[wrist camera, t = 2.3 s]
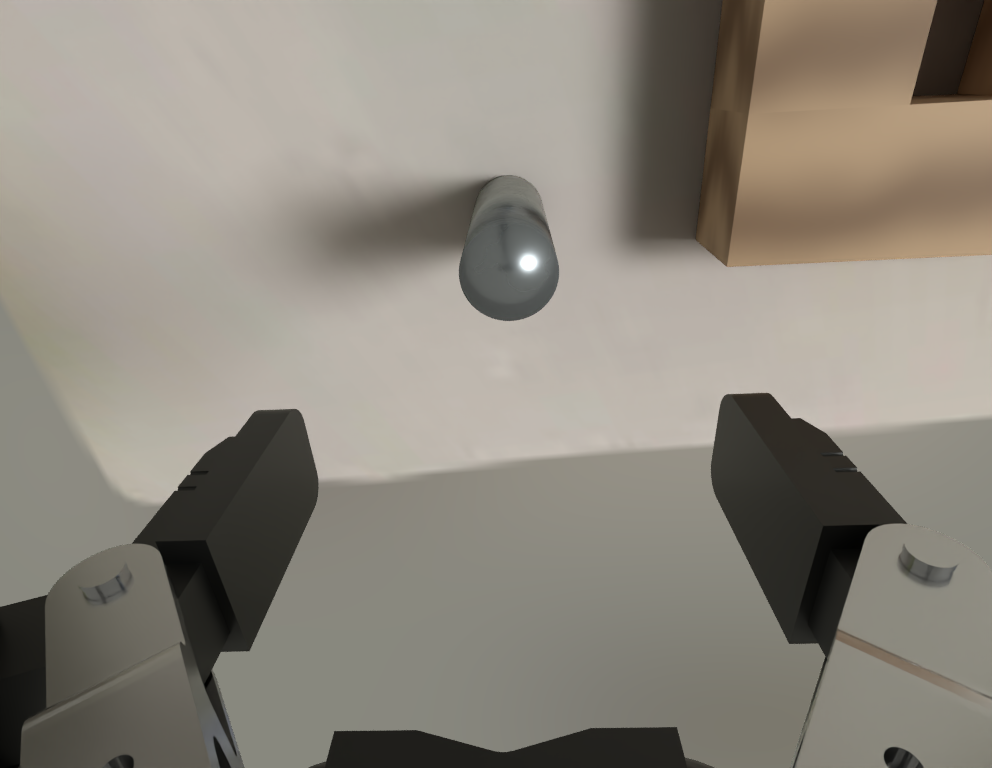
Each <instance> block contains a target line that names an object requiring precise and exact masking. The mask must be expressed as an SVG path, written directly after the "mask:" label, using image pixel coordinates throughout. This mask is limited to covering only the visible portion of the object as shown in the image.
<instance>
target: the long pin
mask: <svg viewBox="0 0 992 768" xmlns="http://www.w3.org/2000/svg"><path fill="white" fill-rule="evenodd" d="M459 279H460V284H461V288H462V290H463V292H464V295H465V296H466V298H467V300H468V301H469V302H470V303H471V305H472V306H473V307H475V308H476V309H477V310H478V311H479V312H481V313H483V314H484V315H486V316H488V317H491V318H494V319H497V320H503V321H514V320H520V319H524V318H527V317H529V316H531V315H533V314H535V313H537V312H538V311H540V310H541V309H542V308H543V307H544V306H545V305H546V304H547V303H548V302H549V300H550V299H551V297H552V296H553V294H554V292H555V290H556V287H557V283H558V279H559V265H558V261H557V256H556V253H555V249H554V245H553V241H552V238H551V234H550V230H549V226H548V223H547V219H546V215H545V211H544V208H543V204H542V200H541V197H540V195H539V193H538V191H537V190H536V188H535V187H534V186H533V185H532V184H531V183H530V182H528V181H527V180H525V179H523V178H521V177H518V176H512V175H507V176H501V177H498V178H495V179H493V180H491V181H490V182H489V183H487V184H486V185H485V186H484V187H483V189H482V190H481V191H480V193H479V195H478V197H477V200H476V204H475V208H474V212H473V215H472V219H471V223H470V227H469V230H468V234H467V238H466V242H465V246H464V249H463V253H462V257H461V261H460V266H459Z"/></svg>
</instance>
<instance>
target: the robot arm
mask: <svg viewBox="0 0 992 768" xmlns="http://www.w3.org/2000/svg"><path fill="white" fill-rule="evenodd" d="M190 472H191V474H190V475H187V476H186V478H185V479H184V480H183V481H182V483H181V484H180V485H179V486H178V491H174V492H173V494H172V495H171V496H170V497H169V499H168V500H167V501H166V502H165V503H164V505H163V506H162V507H161V508H160V510H159V511H158V512H157V513H156V515H155V516H154V517H153V518H152V520H151V521H150V522H149V523H148V524H147V526H146V527H145V528H144V529H143V531H142V532H141V533H140V534H139V535H138V537H137V538H136V539H135V540H134V542H133V543H132V544H126V545H120V546H116V547H113V548H109V549H107V550H104V551H101V552H99V553H97V554H95V555H92V556H90V557H89V558H87V559H85V560H83V561H81V562H80V563H79V564H77V565H75V566H74V567H72V568H71V569H70V570H69V571H67V572H66V573H65V574H64V575H63V576H62V577H61V578H60V579H59V580H58V581H57V582H56V584H54V586H53V587H52V588H51V590H50V592H49V593H48V595H45V596H42V597H38V598H34V599H30V600H26V601H22V602H18V603H14V604H10V605H7V606H2V607H0V768H245V767H244V764H243V761H242V758H241V755H240V751H239V748H238V745H237V742H236V739H235V735H234V732H233V729H232V726H231V723H230V720H229V716H228V713H227V711H226V707H225V704H224V700H223V698H222V694H221V691H220V688H219V685H218V681H217V679H216V677H215V674H214V672H213V670H212V668H213V666H214V664H215V662H216V660H217V658H218V656H219V654H220V652H231V651H250V648H251V646H252V644H253V642H254V640H255V638H256V635H257V633H258V631H259V629H260V626H261V624H262V622H263V620H264V618H265V616H266V613H267V611H268V609H269V607H270V605H271V602H272V600H273V598H274V596H275V593H276V591H277V589H278V587H279V585H280V583H281V580H282V578H283V576H284V574H285V571H286V569H287V567H288V565H289V563H290V561H291V558H292V556H293V554H294V552H295V549H296V547H297V545H298V543H299V541H300V538H301V536H302V534H303V532H304V530H305V527H306V525H307V523H308V521H309V518H310V517H311V514H312V512H313V510H314V508H315V505H316V502H317V497H318V475H317V471H316V467H315V463H314V459H313V455H312V451H311V447H310V443H309V439H308V435H307V431H306V427H305V423H304V419H303V417H302V415H301V413H300V412H299V411H298V410H297V409H283V410H258V411H256V412H254V413H253V414H252V416H251V417H250V418H249V419H248V421H247V422H246V423H245V425H244V426H243V427H242V429H241V430H240V431H239V432H238V434H237V435H236V436H235V437H228V438H227V439H225V440H224V441H222V442H221V443H219V444H218V445H216V446H215V447H214V448H212V449H211V450H209V451H208V452H206V453H205V454H204V455H203V457H202V458H201V459H200V460H199V462H198V463H197V464H196V465H195V467H194V468H193V469H192V470H191V471H190ZM711 478H712V485H713V489H714V492H715V495H716V498H717V500H718V502H719V503H720V506H721V508H722V510H723V512H724V514H725V516H726V518H727V520H728V521H729V524H730V526H731V528H732V530H733V532H734V534H735V536H736V538H737V540H738V542H739V544H740V546H741V548H742V550H743V552H744V554H745V556H746V558H747V560H748V562H749V564H750V566H751V568H752V570H753V572H754V574H755V576H756V578H757V580H758V582H759V584H760V586H761V588H762V590H763V592H764V594H765V596H766V598H767V600H768V602H769V604H770V606H771V608H772V610H773V612H774V614H775V616H776V618H777V620H778V622H779V624H780V626H781V628H782V630H783V632H784V634H785V636H786V638H787V640H788V642H789V644H806V643H818V644H819V645H820V647H821V649H822V651H823V653H824V654H825V659H824V662H823V665H822V668H821V671H820V675H819V678H818V681H817V684H816V687H815V691H814V693H813V697H812V700H811V703H810V706H809V710H808V713H807V716H806V719H805V722H804V725H803V728H802V732H801V735H800V738H799V741H798V744H797V748H796V751H795V754H794V757H793V761H792V763H791V767H790V768H992V570H991V569H990V567H989V566H988V564H987V563H985V561H984V560H983V559H982V558H981V557H980V556H979V555H977V554H976V553H975V552H974V551H973V550H971V549H970V548H968V547H967V546H965V545H964V544H962V543H961V542H959V541H957V540H955V539H953V538H951V537H949V536H947V535H945V534H942V533H940V532H937V531H934V530H931V529H928V528H925V527H921V526H915V525H910V524H907V523H906V522H905V521H904V520H903V519H902V517H901V516H900V515H899V514H898V513H897V512H896V511H895V510H894V509H893V507H892V506H891V505H890V504H889V503H888V502H887V501H886V500H885V499H884V498H883V496H882V495H881V494H880V493H879V492H878V491H877V490H876V489H875V487H874V486H873V485H872V484H871V483H870V482H869V481H868V480H867V479H866V478H865V476H864V475H863V474H862V473H861V472H857V467H856V466H855V465H854V464H853V463H852V462H851V461H850V460H849V458H848V457H847V456H843V452H842V451H841V450H840V448H839V447H838V446H837V445H836V444H835V443H834V442H833V441H832V439H831V438H830V437H829V436H828V435H827V434H826V433H824V432H823V431H821V430H819V429H818V428H816V427H814V426H813V425H811V424H809V423H808V422H806V421H804V420H802V419H801V418H794V419H791V418H790V416H789V415H788V414H787V413H786V412H785V410H784V409H783V408H782V407H781V406H780V404H779V403H778V402H777V401H776V400H775V398H774V397H773V396H772V395H771V394H769V393H751V394H727V395H725V396H724V397H723V399H722V401H721V404H720V410H719V416H718V423H717V429H716V436H715V442H714V449H713V455H712V462H711ZM309 768H714V767H712V766H709V765H706V764H704V763H701V762H699V761H696V760H692V759H688V758H685V757H684V753H683V750H682V746H681V742H680V738H679V734H678V730H677V727H662V728H590V729H587V730H583V731H580V732H577V733H573V734H570V735H566V736H563V737H559V738H556V739H553V740H549V741H546V742H542V743H539V744H536V745H532V746H529V747H525V748H521V749H518V750H515V751H510V752H495V751H491V750H487V749H484V748H480V747H476V746H473V745H469V744H465V743H462V742H458V741H454V740H451V739H447V738H443V737H440V736H436V735H432V734H428V733H425V732H421V731H417V730H407V731H406V730H404V731H403V730H402V731H334V735H333V739H332V742H331V746H330V750H329V754H328V758H327V761H326V762H323V763H320V764H316V765H314V766H311V767H309Z"/></svg>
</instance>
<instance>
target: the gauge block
mask: <svg viewBox="0 0 992 768" xmlns="http://www.w3.org/2000/svg"><path fill="white" fill-rule="evenodd" d="M936 4H937V0H723V2H722V10H721V19H720V28H719V37H718V46H717V55H716V63H715V72H714V81H713V90H712V99H711V108H710V116H709V125H708V134H707V143H706V152H705V161H704V169H703V178H702V187H701V196H700V205H699V214H698V222H697V231H696V241H698V242H699V243H700V244H701V245H702V246H703V247H705V248H706V249H707V250H708V251H709V252H710V253H712V254H713V255H714V256H715V257H716V258H717V259H718V260H720V261H721V262H722V263H723V264H724V265H725V266H727V267H734V266H756V265H777V264H799V263H821V262H843V261H865V260H886V259H908V258H930V257H952V256H974V255H992V0H984V4H983V7H982V11H981V14H980V17H979V21H978V24H977V27H976V31H975V34H974V38H973V41H972V44H971V48H970V51H969V54H968V58H967V61H966V65H965V68H964V71H963V75H962V78H961V82H960V85H959V88H958V92H957V94H946V95H929V96H912V95H913V91H914V87H915V84H916V80H917V76H918V72H919V68H920V65H921V61H922V57H923V53H924V49H925V46H926V42H927V38H928V34H929V30H930V27H931V23H932V19H933V15H934V11H935V7H936Z"/></svg>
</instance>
